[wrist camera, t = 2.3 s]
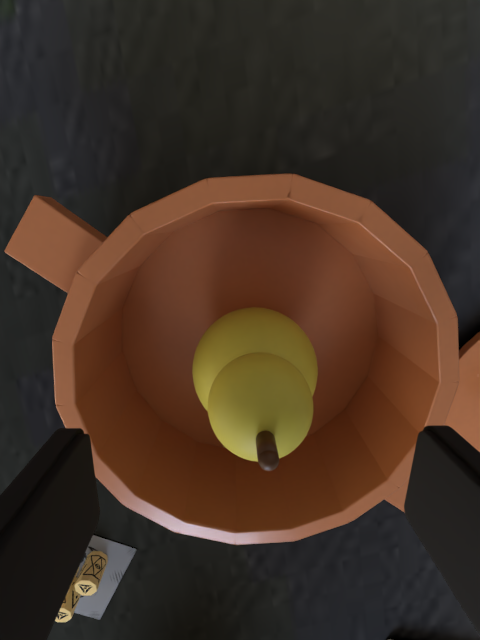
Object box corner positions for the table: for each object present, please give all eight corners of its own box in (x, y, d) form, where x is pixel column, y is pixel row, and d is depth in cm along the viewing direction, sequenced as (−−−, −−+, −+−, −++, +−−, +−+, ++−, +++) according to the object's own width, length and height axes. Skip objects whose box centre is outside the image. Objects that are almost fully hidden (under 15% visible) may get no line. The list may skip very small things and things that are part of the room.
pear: (240, 272, 16) (250, 329, 7) (321, 333, 17) (415, 447, 8) (180, 352, 18) (125, 486, 9) (259, 404, 19) (284, 571, 10)
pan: (171, 80, 14) (130, -17, 9) (474, 339, 18) (585, 391, 13) (17, 340, 18) (-87, 395, 12) (301, 510, 22) (326, 613, 16)
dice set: (111, 554, 22) (100, 583, 21) (88, 600, 24) (75, 632, 22) (40, 531, 22) (23, 560, 20) (20, 580, 23) (2, 611, 21)
